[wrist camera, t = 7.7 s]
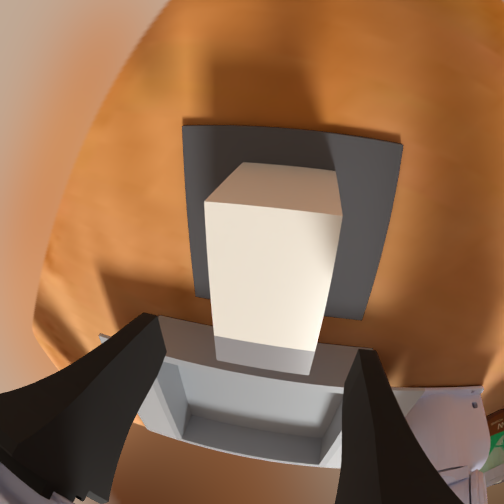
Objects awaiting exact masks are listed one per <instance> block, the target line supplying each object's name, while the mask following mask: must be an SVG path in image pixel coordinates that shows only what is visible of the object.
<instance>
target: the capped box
mask: <svg viewBox="0 0 504 504" xmlns="http://www.w3.org/2000/svg"><path fill="white" fill-rule="evenodd" d="M204 210H205V227H206V243H207V258H208V272H209V285H210V297H211V308H212V319H213V330H214V340H215V349H216V359H217V360H219V361H224V362H229V363H234V364H239V365H244V366H250V367H256V368H261V369H268V370H274V371H280V372H287V373H294V374H302V375H309V373H310V369H311V365H312V361H313V358H314V354H315V350H316V346H317V342H318V338H319V333H320V329H321V325H322V321H323V316H324V312H325V307H326V303H327V298H328V293H329V288H330V284H331V279H332V274H333V268H334V263H335V258H336V252H337V247H338V241H339V235H340V229H341V223H342V217H343V215H342V208H341V201H340V195H339V188H338V182H337V176H336V171H332V170H323V169H315V168H306V167H296V166H286V165H274V164H262V163H248V162H243V163H242V164H241V165H240V166H239V167H238V168H237V169H235V170H234V171H233V172H232V173H231V174H230V175H229V176H228V177H227V178H226V179H225V180H224V181H223V182H222V183H221V184H220V186H219V187H218V188H217V189H216V190H215V191H214V192H213V193H212V194H211V195H210V196H209V197H208V198H207V199H206V200H205V201H204Z"/></svg>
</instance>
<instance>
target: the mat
mask: <svg viewBox="0 0 504 504" xmlns="http://www.w3.org/2000/svg"><path fill="white" fill-rule="evenodd" d="M182 134H183V156H184V174H185V190H186V204H187V216H188V228H189V239H190V250H191V260H192V269H193V278H194V287H195V295H196V297H201V298H206V299H211V297H210V285H209V272H208V258H207V243H206V227H205V210H204V201H205V200H206V199H207V198H208V197H209V196H210V195H211V194H212V193H213V192H214V191H215V190H216V189H217V188H218V187H219V186H220V184H221V183H222V182H223V181H224V180H225V179H226V178H227V177H228V176H229V175H230V174H231V173H232V172H233V171H234V170H235V169H237V168H238V167H239V166H240V165H241V164H242V163H243V162H248V163H262V164H274V165H286V166H296V167H306V168H315V169H323V170H332V171H336V176H337V182H338V188H339V195H340V201H341V208H342V215H343V217H342V223H341V229H340V235H339V241H338V247H337V252H336V258H335V263H334V268H333V274H332V279H331V284H330V288H329V293H328V298H327V303H326V307H325V312H324V316H328V317H336V318H345V319H354V320H362V318H363V315H364V312H365V309H366V306H367V303H368V300H369V296H370V293H371V290H372V286H373V283H374V280H375V276H376V273H377V269H378V265H379V262H380V258H381V254H382V250H383V246H384V242H385V238H386V234H387V230H388V225H389V221H390V216H391V212H392V207H393V202H394V197H395V192H396V187H397V181H398V176H399V170H400V164H401V158H402V151H403V145H402V144H400V143H395V142H390V141H384V140H379V139H373V138H367V137H360V136H354V135H346V134H339V133H331V132H323V131H314V130H303V129H292V128H279V127H263V126H239V125H184V126H182Z"/></svg>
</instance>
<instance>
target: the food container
mask: <svg viewBox="0 0 504 504" xmlns="http://www.w3.org/2000/svg"><path fill="white" fill-rule="evenodd" d="M486 419H487V424H488V429H489V433H490V451H489V455H488V458H487V460H486V462H485V464H484V465H483V467H482V468H481V469H480V470H479V471H481V472H483V473H484V477H485V482H486V487H488V486H491V485H495V484H499V483H502V482H504V409H502V410H499V411H497V412H495V413H493V414H491V415H489V416H487V417H486Z"/></svg>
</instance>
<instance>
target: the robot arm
mask: <svg viewBox="0 0 504 504" xmlns="http://www.w3.org/2000/svg"><path fill="white" fill-rule="evenodd" d="M166 353H167V351H166V347H165V343H164V339H163V335H162V332H161V328H160V324H159V319H158V316H156V315H152V314H148V313H142V314H141V315H140V316H138V317H137V318H135V319H134V320H133V321H131V322H130V323H129V324H128V325H126V326H125V327H124V328H122V329H121V330H120V331H118V332H117V333H116V334H114V335H113V336H112V337H110V338H109V339H108V340H106V341H105V342H104V343H102V344H101V345H100V346H98V347H97V348H95V349H94V350H92V351H91V352H89V353H88V354H86V355H85V356H83V357H82V358H80V359H79V360H77V361H76V362H74V363H72V364H71V365H69V366H67V367H66V368H64V369H62V370H60V371H58V372H56V373H55V374H52V375H50V376H48V377H46V378H44V379H41V380H39V381H37V382H35V383H33V384H30V385H27V386H25V387H22V388H19V389H16V390H13V391H9V392H5V393H1V394H0V504H74V503H73V501H74V499H75V497H76V498H78V499H79V500H81V501H84V500H85V498H86V496H87V497H89V498H90V499H92V500H94V501H96V502H98V503H100V504H103V503H107V502H108V501H109V496H110V491H111V486H112V482H113V478H114V474H115V470H116V467H117V463H118V460H119V457H120V454H121V451H122V448H123V445H124V442H125V440H126V437H127V434H128V432H129V429H130V427H131V425H132V422H133V420H134V418H135V416H136V414H137V413H138V411H139V409H140V407H141V405H142V403H143V402H144V400H145V398H146V396H147V394H148V392H149V391H150V389H151V387H152V385H153V383H154V381H155V379H156V378H157V376H158V374H159V371H160V369H161V366H162V364H163V361H164V358H165V355H166ZM483 390H484V387H483V386H470V387H442V388H425V392H424V393H423V395H422V396H421V397H420V398H419V400H418V401H417V402H416V404H415V405H414V406H413V408H412V409H411V410H410V411H409V413H408V414H407V415H406V416H405V417H404V414H403V412H402V410H401V408H400V406H399V404H398V402H397V399H396V397H395V395H394V393H393V391H392V388H391V386H390V384H389V381H388V379H387V377H386V374H385V372H384V369H383V367H382V364H381V362H380V359H379V356H378V354H377V352H376V351H375V350H367V349H358V351H357V354H356V356H355V359H354V361H353V364H352V366H351V368H350V371H349V373H348V376H347V378H346V380H345V383H344V392H343V402H342V455H341V472H340V478H339V484H338V490H337V495H336V501H335V504H487V491H486V482H485V477H484V473H483V472H481V471H479V470H480V469H481V468H482V467H483V465H484V464H485V462H486V460H487V458H488V455H489V451H490V433H489V429H488V424H487V419H486V415H485V411H484V407H483V403H482V399H481V395H480V394H481V393H482V392H483Z"/></svg>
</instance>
